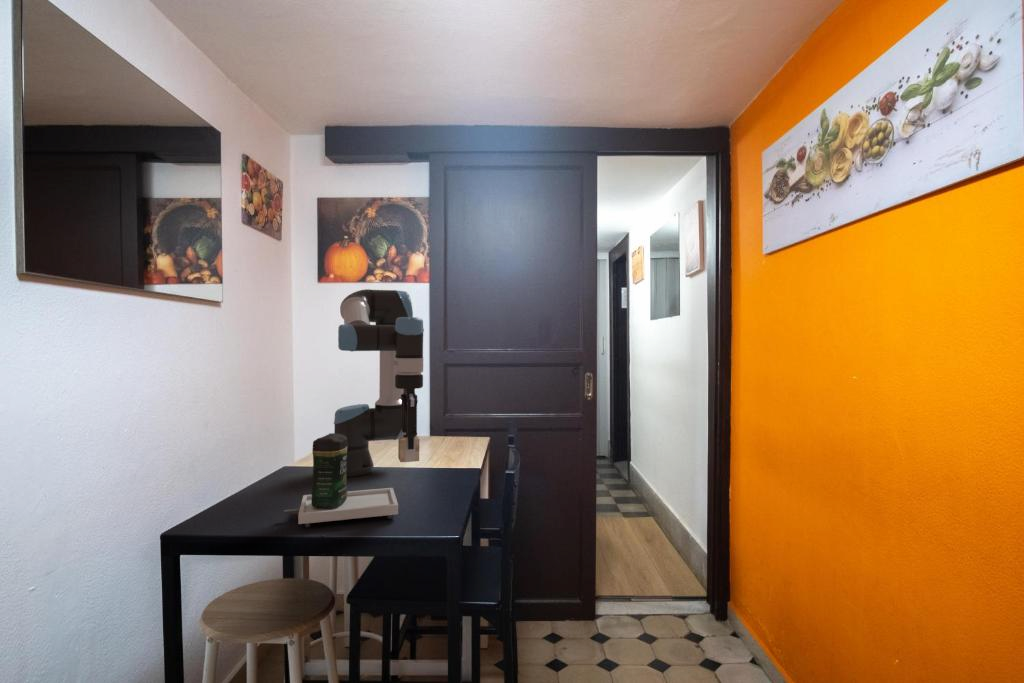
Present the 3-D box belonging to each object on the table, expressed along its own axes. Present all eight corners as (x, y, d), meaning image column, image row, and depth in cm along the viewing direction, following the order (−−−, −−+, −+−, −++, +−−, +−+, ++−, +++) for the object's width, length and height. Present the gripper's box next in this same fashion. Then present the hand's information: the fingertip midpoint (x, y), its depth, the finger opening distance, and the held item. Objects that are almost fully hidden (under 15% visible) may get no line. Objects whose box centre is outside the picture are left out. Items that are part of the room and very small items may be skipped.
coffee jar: (337, 510, 130) (337, 438, 130) (307, 509, 130) (307, 437, 130) (351, 498, 139) (351, 431, 139) (323, 498, 140) (323, 431, 140)
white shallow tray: (287, 511, 138) (287, 496, 138) (392, 501, 146) (392, 487, 146) (280, 532, 123) (280, 516, 123) (398, 520, 131) (398, 504, 131)
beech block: (398, 458, 140) (398, 436, 140) (416, 456, 142) (416, 435, 142) (400, 462, 135) (400, 440, 135) (419, 461, 137) (419, 439, 137)
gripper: (391, 371, 146) (391, 452, 146) (399, 376, 129) (398, 467, 129) (417, 371, 148) (417, 450, 148) (428, 375, 131) (428, 465, 131)
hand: (408, 458), depth 139 cm, fingers closed on beech block, 5 cm apart
